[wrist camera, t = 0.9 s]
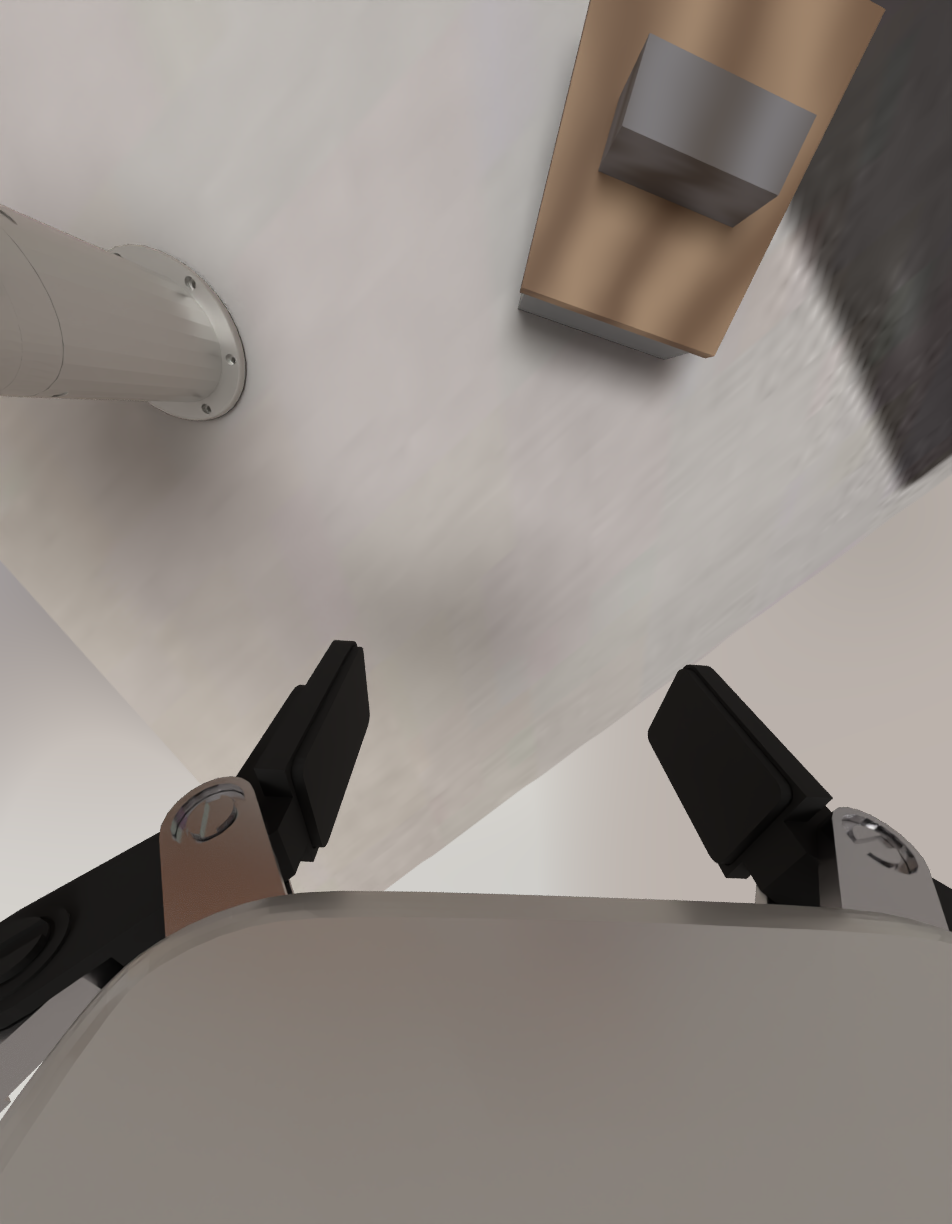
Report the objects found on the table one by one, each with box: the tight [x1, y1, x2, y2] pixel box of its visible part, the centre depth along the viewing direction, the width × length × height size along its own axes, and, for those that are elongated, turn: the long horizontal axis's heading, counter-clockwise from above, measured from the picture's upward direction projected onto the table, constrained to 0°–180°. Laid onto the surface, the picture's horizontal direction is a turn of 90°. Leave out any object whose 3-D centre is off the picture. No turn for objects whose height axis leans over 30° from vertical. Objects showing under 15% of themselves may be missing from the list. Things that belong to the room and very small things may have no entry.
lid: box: [520, 0, 885, 358], centre depth 21 cm, size 16×16×6 cm
